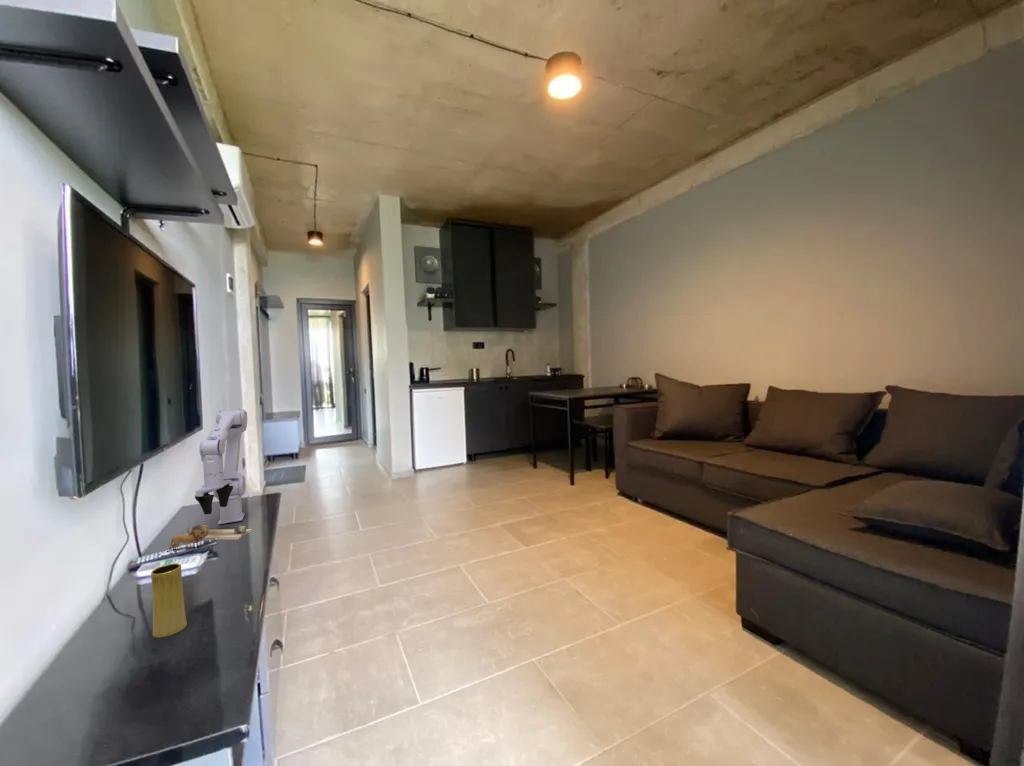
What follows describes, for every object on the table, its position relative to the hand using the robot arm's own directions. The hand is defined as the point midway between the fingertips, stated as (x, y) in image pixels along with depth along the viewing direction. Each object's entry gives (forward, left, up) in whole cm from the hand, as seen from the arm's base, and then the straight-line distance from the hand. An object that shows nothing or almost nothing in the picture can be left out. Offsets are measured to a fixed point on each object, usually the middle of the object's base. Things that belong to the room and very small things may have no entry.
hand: (215, 510), depth 150 cm
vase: (+62, -1, -10) cm, 63 cm away
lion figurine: (+9, -7, -10) cm, 15 cm away
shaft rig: (0, 0, -9) cm, 9 cm away
